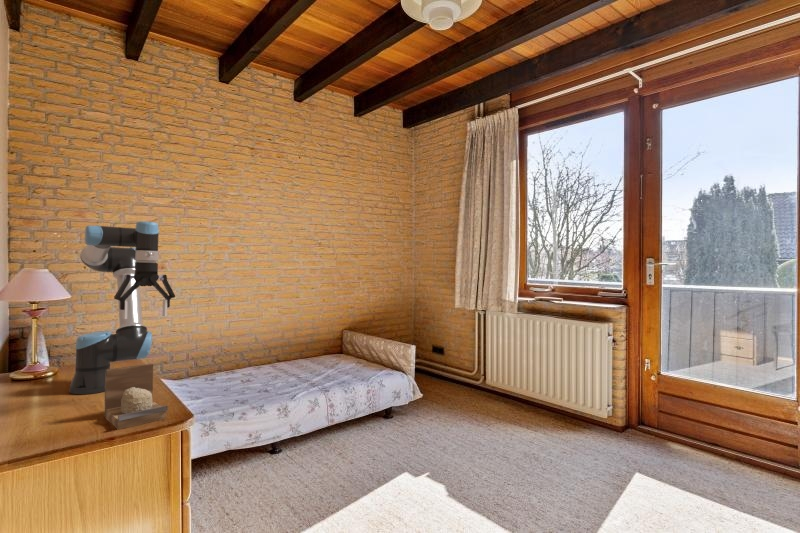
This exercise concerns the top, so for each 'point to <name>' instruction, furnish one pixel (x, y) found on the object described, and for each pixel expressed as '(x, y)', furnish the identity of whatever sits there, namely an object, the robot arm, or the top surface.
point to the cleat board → (122, 381)
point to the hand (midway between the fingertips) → (145, 317)
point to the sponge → (136, 400)
